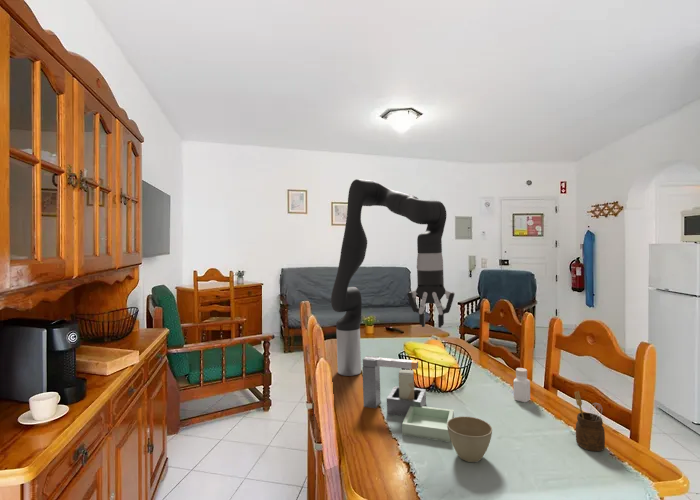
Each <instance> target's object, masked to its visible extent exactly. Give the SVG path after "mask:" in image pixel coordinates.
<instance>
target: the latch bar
mask: <svg viewBox="0 0 700 500" xmlns="http://www.w3.org/2000/svg"><path fill="white" fill-rule="evenodd" d="M377 357H378V356H377ZM377 357H366V356H365V357H364V358H363V359H370V360H376V366H380V367H382V368H393V369H394V368H395V369H403V370H413V371H414V370H415V371H417V370H418V369H419V359H418V360H417V359H404V358H403V359H402V358H400V359H399V358H389V357H379V358H377Z"/></svg>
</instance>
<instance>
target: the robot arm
mask: <svg viewBox="0 0 700 500" xmlns="http://www.w3.org/2000/svg"><path fill="white" fill-rule="evenodd" d="M347 194H348V195H347V205H346V206H347V208H346V220H345V228H344V231H343V232H344V233H343V238H342V243H341V247H340V248H341V249H340V257H339V263H338V268H337V272H336V276H335V280H334V284H333V287H332V292H331V297H330V304H331V308H332V310H333V312H336V313H344V312H345V314H344V315H343V316H342V317H341V318H339V319H338V320H337V321H336V325H335V326H336V327H335V329H336V330H335V331H336V355H337V356H336V357H337V363H336V365H337V374H339V375H341V376H345V377H346V376H349V377H350V376H351V377H352V376H358V375H359V374H361V373H362V352H361V349H362V348H361V322H362V306H363V305H362V294H361V291H360V289H359V288H357V287H355V286H349V285H350V281H351V279H352V278H353V276H354V275H355V274H356V272H357V271H358V270H359V268H360V267H361V266H362V264H363V263H364V260H365V258H366V254H367V248H368V237H367V235H366V232H365V229H364V227H363V224H362V219H361V218H362V209H363V207H373V206H376V207H377V206H379V207H386V208H387V210H389V211H390V212H391V213H394V215H395V214H396V215H399V216H402V217H404V218H406V219H408V220H409V221H411V222H412V223H415V224H418V225H426V230H425V232H422V233H420V234H418V235H417V241H416V242H417V258H416V271H417V272H416V273H417V275H416V276H417V277H416V279H417V282H416V283H417V287H416V289H415V290H412V291H408V293H407V298H408V300H409V304H410V306H411V310H412V311H413V312H414V313H417V314H418V317H419V318H418V319H419V325H420V326H421V327H422V328H425V327H426V313H425V309H426V306H427V304H430V303H431V304H435V308H436V309H437V312H438V314H437V318H438V321H437V323H438V324H437V325H438V326H437V327H438V328H441V329H442V326H444V323H445V320H444V319H445V314H449V313H450V311H451V307H452V304H453V302H454V301H453V300H454V298H455V292H454V291H448V290H446V288H445V285H444V283H445V282H444V279H445V278H444V259H443V247H442V246H443V243H442V242H443V241H442V238H443V234H444V229H445V225H446V222H447V209H446V207H445V204H444V203H443V202H441V201H439V200H431V199H429V200H428V199H419V198H418V197H417V196H414V195H412V194H410V193H409V194H408V193H406V192H402V191H396V190H393V189H391V188H388V187H387V186H385V185H383V184H382V183H380V182H377V181H375V180H373V179H371V180H369V179H360V178H359V179H354V180H353V181H352V182H351V183H350V185H349V189H348V193H347ZM417 295H418V297H419V298H420V300H421V301H420V305H419V306H418V305H417V301H416V298H417ZM444 295H445V297H446V300H447V301H446V306H445V307H443V303H442V298H443V297H444Z"/></svg>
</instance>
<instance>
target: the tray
mask: <svg viewBox="0 0 700 500" xmlns="http://www.w3.org/2000/svg"><path fill="white" fill-rule="evenodd" d="M454 411H455V410H454V409H449V408H440V407H433V406H426V405H425V406H421V407H413V406H410V408H409V410H408V412H407V415H406V416H404V419H403V420H402V421H403V422H402V423H401V424H402V425H401V426H402V428H401V429H402V436H405V437H406V436H407V437H411V438H412V437H414V438H419V439H420V438H421V439H427V440H435V441H440V442H446V443H447V442H448V443H451V440H450V436H449V433H448V428H447V422H448V421H449V420H450V419H452V418H455V413H454Z"/></svg>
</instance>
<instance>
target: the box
mask: <svg viewBox="0 0 700 500" xmlns="http://www.w3.org/2000/svg"><path fill="white" fill-rule="evenodd" d="M414 379H415V377H414V369H399V371H398V387H399V398H403V399H412V400H414V388H415V383H414V382H415V380H414Z"/></svg>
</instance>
